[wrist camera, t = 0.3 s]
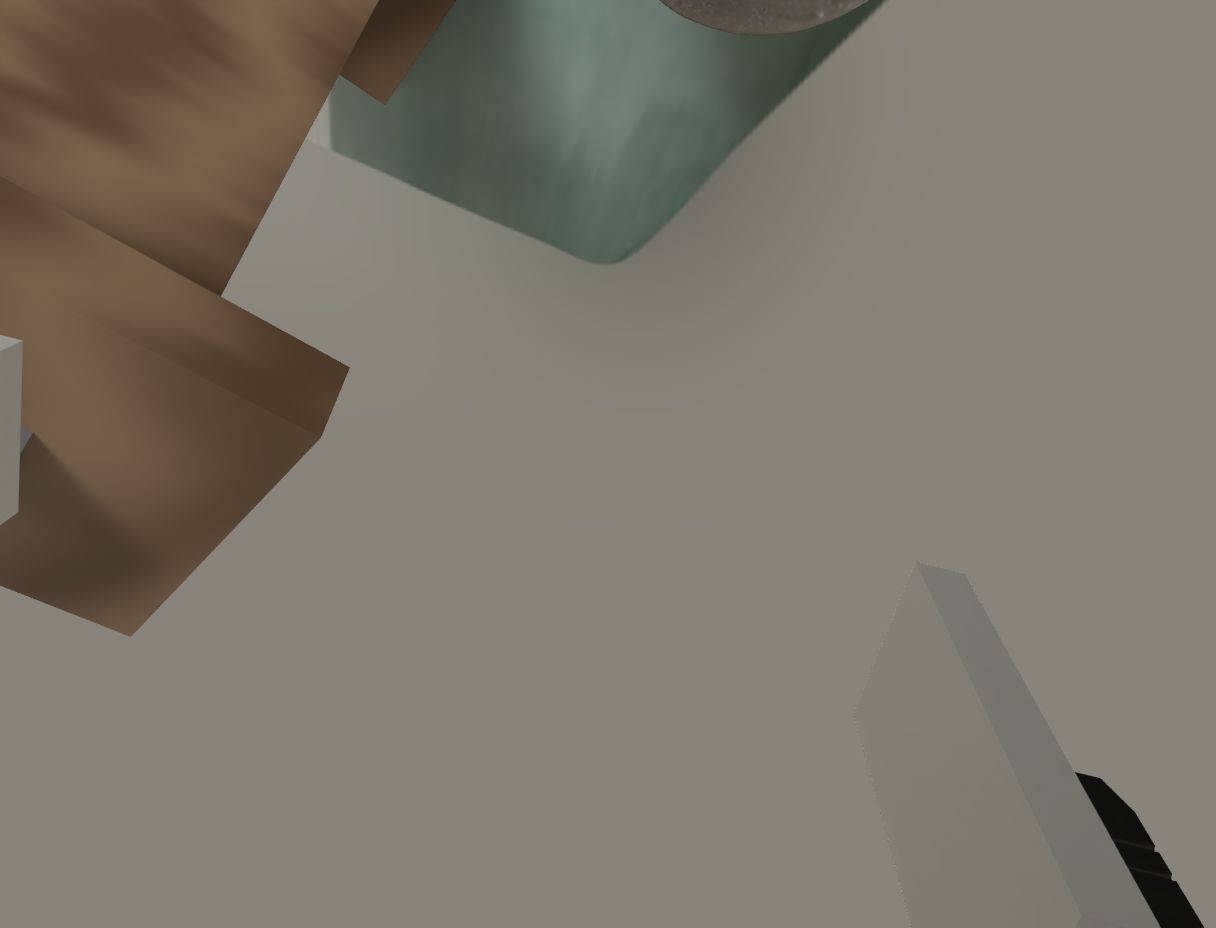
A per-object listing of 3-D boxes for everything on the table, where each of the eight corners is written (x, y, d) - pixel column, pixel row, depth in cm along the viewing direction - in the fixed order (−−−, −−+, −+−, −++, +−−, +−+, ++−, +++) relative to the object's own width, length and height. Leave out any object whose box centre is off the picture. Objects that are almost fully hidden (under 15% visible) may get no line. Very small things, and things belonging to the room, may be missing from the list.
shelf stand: (17, -173, 44) (-563, 364, 26) (108, -600, 32) (-810, -141, 15) (394, 84, 51) (130, 636, 34) (578, -189, 39) (320, 437, 22)
